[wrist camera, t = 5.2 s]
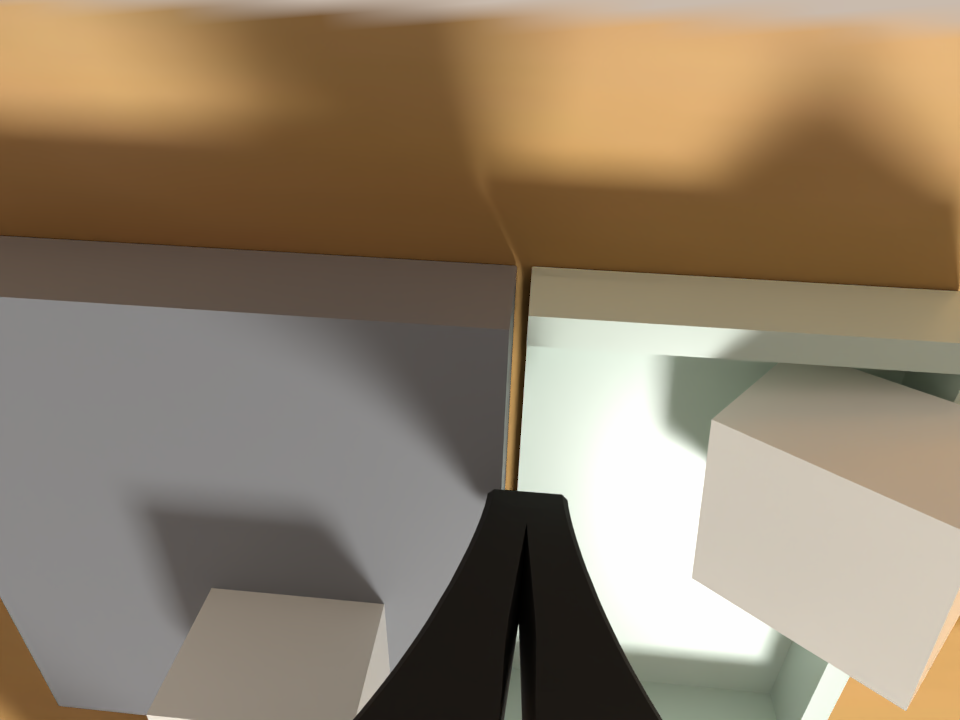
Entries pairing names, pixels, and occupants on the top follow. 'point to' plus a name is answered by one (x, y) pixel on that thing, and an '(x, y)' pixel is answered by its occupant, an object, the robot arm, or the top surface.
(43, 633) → the plate
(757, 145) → the top surface
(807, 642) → the block
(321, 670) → the block
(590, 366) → the tray
